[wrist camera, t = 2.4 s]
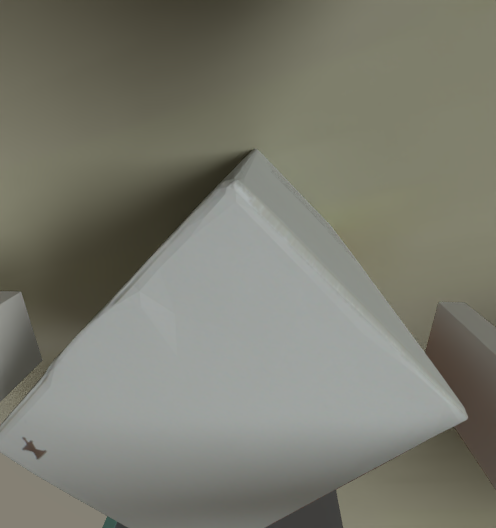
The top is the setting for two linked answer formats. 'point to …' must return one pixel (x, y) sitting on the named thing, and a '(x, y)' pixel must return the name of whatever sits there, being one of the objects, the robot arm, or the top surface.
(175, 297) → the small box
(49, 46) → the top surface
